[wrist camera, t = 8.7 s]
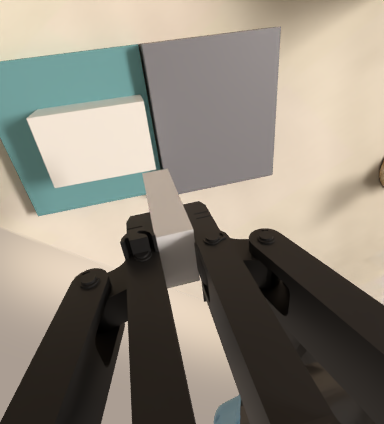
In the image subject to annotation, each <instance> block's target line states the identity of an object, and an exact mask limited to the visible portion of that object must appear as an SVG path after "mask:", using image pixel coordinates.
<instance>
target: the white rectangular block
mask: <svg viewBox="0 0 384 424" xmlns="http://www.w3.org/2000/svg"><path fill="white" fill-rule="evenodd" d="M26 119H27V121H28V124H29V126H30V129H31V131H32V134H33V136H34V139H35V141H36V143H37V146H38V148H39V151H40V153H41V156H42V158H43V161H44V163H45V165H46V168H47V170H48V173H49V175H50V178H51V180H52V183H53V185H54V187H55V188H59V187H64V186H69V185H75V184H80V183H86V182H91V181H96V180H102V179H107V178H113V177H118V176H123V175H129V174H134V173H140V172H145V171H150V170H156V166H155V161H154V155H153V150H152V144H151V139H150V133H149V128H148V122H147V117H146V111H145V105H144V101H143V99H142V97H141V95H133V96H126V97H119V98H112V99H105V100H99V101H92V102H85V103H78V104H71V105H64V106H57V107H50V108H43V109H37V110H36V111H35V112H33V113H32V114H31V115H30V116H29V117H27V118H26Z"/></svg>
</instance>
